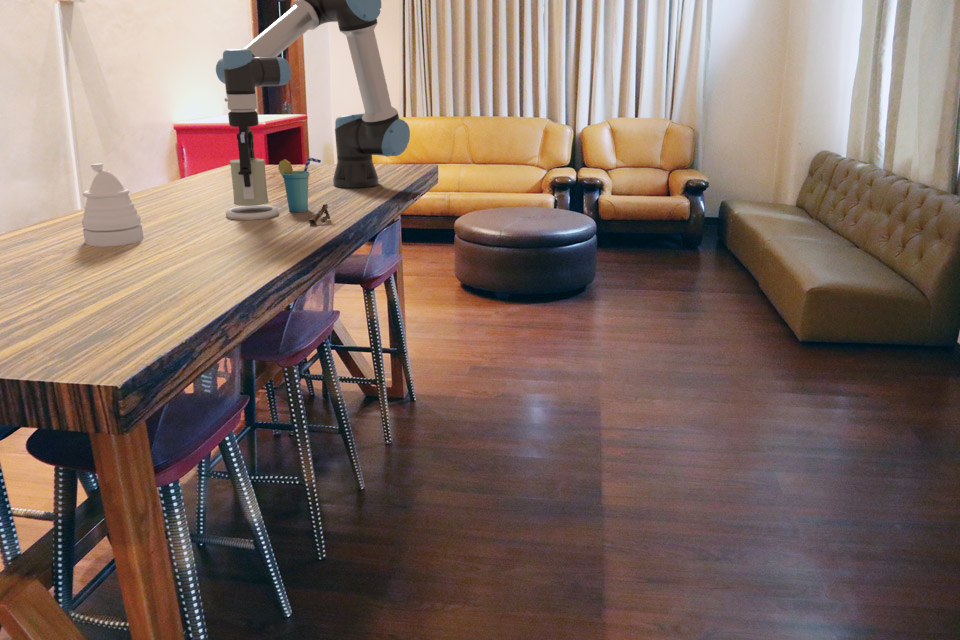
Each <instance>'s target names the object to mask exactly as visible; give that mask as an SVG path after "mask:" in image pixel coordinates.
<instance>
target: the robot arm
mask: <svg viewBox="0 0 960 640" xmlns="http://www.w3.org/2000/svg"><path fill="white" fill-rule="evenodd" d="M381 9H382V0H294V1H293V2H292V3H291V8H289V9H288V10H287V11H286V12H285V13H284V14H283V15H281V16H280V17H279V18H277V19H276V20H275V21H274V22H273V23H272V24H270V25H269V26H268V27H267V28H265V29H264V30H263V31H261V32H260V33H259V34H258V35H256V37H255V38H253V39H252V40H250V42H248V43H247V44H246V45H245V46H244V47H242V48H241V49H225V50H224V51H223V53H222V57H221V58H220V59H218V61H217V63H216V65H215V74H216V77H217V79H218V80H219V81H220V82H221V83H222V84H224V85H225V93H226V97H224V101H225V102H227V109H228V111H229V112H228V115H227V116H228V124H229V125H228V126H230V127H233V128H235V127H236V128H238V132H237V133H236V141H237V145H238V146H237V148H238V155H239V157H238V159H239V160H240V172H238V174H239V175H241V176H242V186H243V196H244V199H254V188H253V177H252V174H251V173H252V171H251V158H255V148H254V147H255V146H254V133H253V130H252V129H251V127H257V126H258V125H259V116H258V115H259V114H258V112H257V109H258V100H257V99H258V98H257V91H256V88H257V87H279V86H284V85H286V84H288V83H289V82H290V79H291V77H292V72H291V65H290V64H289V62H288V60H287V59H285V58H283V57H281V56H280V57H278V56H279V55H280V54H282V53H283V52H284V51H286V49H288V48H289V47H290V46H291V45H292V44H294V43H295V42H296V41H297V40H298V39H299V38H300V37H301V36H303V35H304V34H305V33H306V32H307V31H310V30H315V29H317V28H318V27H320V26H321V25H323V24H326V23H332V22H333V23H337V24H338V29H339V32H341V33H342V34H343V35H345V37H346V39H347V44H348V48H349V52H350V55H351V59H352V65H353V69H354V74H355V77H356V81H357V85H358V90H359V93H360V96H361V101H362V105H363V109H364V113H359V114H357V113H355V114H348V115H341V116H338V117H336V119H335V121H334V123H335V124H334V125H335V128H334V134H335V145H336V156H337V157H336V160H337V161H336V162H337V163H336V166H335V170H334V175H333V179H332V180H333V181H332V182H333V186H334V187H336V188H337V187H338V188H346V189H347V188H348V189H349V188H351V189H352V188H357V189H358V188H359V189H360V188H368V187H369V188H370V187H375V186H377V185H379V182H380V181H379V176H378V173H377V170H376V167H375V164H374V163H373V156H383V157H398V156H400V155H402V154H403V153H404V152H405V151H406V149H407V148H408V145H409V143H410V138H411V131H410V127H409V124H408V122H406V121H405V120H404V119H402V118H400V115H399V112H398V110H397V108H395V107H393V106H392V103H391V98H390V93H389V90H388V85H387V82H386V81H387V80H386V76H385V72H384V69H383V63H382V59H381V55H380V51H379V45H378V42H377V37H376V34H375V29H376V27H377V25H378V18H379V16H380V14H381Z"/></svg>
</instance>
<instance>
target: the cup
mask: <svg viewBox="0 0 960 640" xmlns="http://www.w3.org/2000/svg"><path fill="white" fill-rule="evenodd" d="M310 162H314V163H320V164H321V162H322V160H321V159H318V158H314V157H308V158H307V160H306V161H305V166H304V168H303V170H293V166H292V164H291V162H290V161H288V160H287V159H286V158H285V159H282V160H280V161H279V163H278V170H279V171H278V172H279V174H280V176H282V179H283V182H284V187H285V193H286V199H287V205H288V211H289V212H291V213H304V212H308V210H309V178H310V171H308V168H309V164H310Z"/></svg>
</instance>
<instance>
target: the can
mask: <svg viewBox="0 0 960 640" xmlns="http://www.w3.org/2000/svg"><path fill="white" fill-rule="evenodd" d="M265 162H266V161H265V159H264V158H257V157H256V158H251V171H252V173H251V174H252V177H253V188H254V199H244V196H243V186H242V176H241V175H239V174H238V172H240V160H239V158H238V159H231V160H229V163H230V172H231V180H232V181H231V182H232V189H233V191H232V192H233V204H234V206H238V207H240V206H255V205H266V204H268V203H269V198H268V189H267V188H268V187H267V186H268V185H267V175H266V165H265V164H266V163H265Z"/></svg>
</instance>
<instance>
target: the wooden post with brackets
mask: <svg viewBox="0 0 960 640" xmlns="http://www.w3.org/2000/svg"><path fill="white" fill-rule="evenodd" d="M328 208H329V205H328V204H327V203H326V204H323V205H322V206H321V209H320V210H318V211H317V213H316V214H315V216H313V217H312V218H309V219H308V223H309V225H310V226H317V225H318V224H317V222H318V220H319V219H320V218H321V217H322V218H321V221H320V222H321V223H325V222H326V221H328V220H330V219H331V215H330V213H329V211H328ZM324 214H325V216H323V215H324Z"/></svg>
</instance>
